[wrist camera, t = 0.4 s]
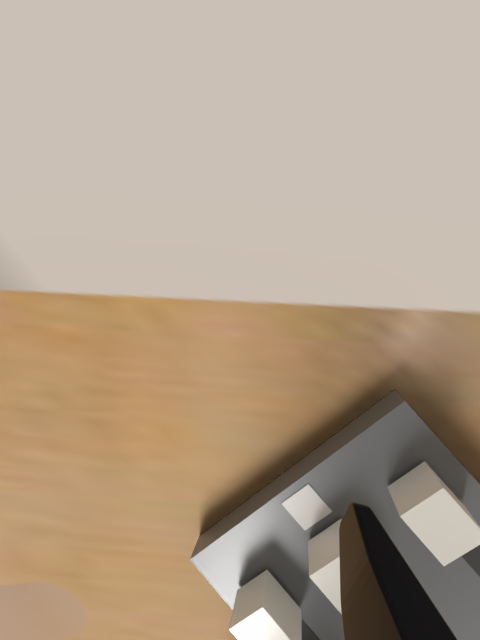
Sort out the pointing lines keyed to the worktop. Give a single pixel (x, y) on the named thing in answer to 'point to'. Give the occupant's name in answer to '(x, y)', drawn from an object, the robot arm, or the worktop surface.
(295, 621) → the tab
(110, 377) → the worktop surface
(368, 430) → the switch panel
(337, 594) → the tab
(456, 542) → the tab
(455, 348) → the worktop surface
